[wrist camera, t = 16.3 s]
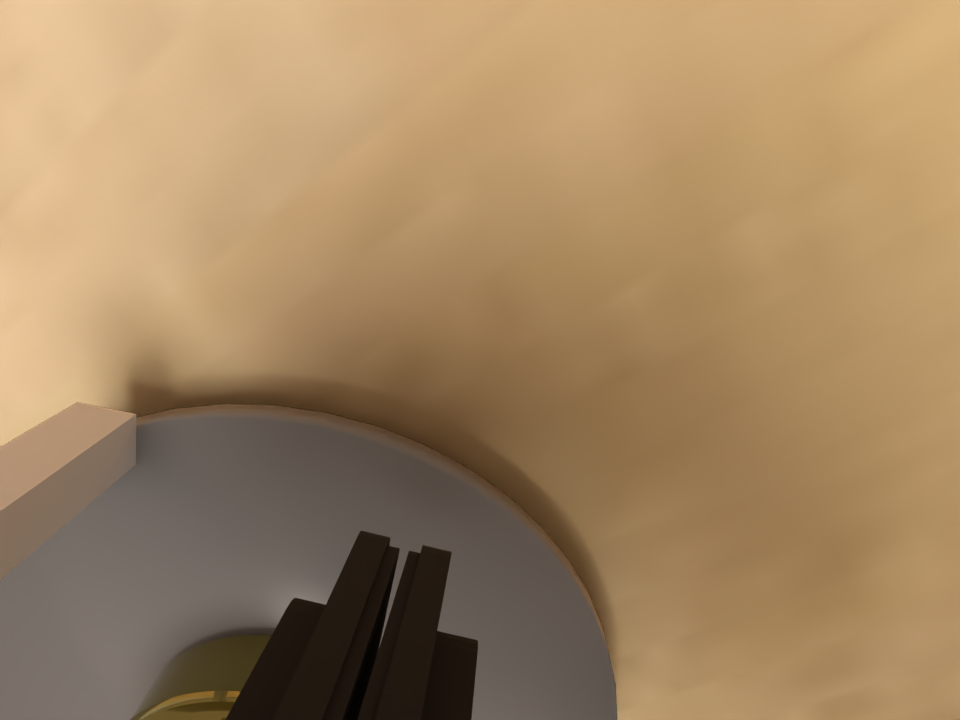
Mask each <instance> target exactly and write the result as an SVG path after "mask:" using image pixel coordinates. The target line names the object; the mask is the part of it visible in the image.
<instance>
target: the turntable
mask: <svg viewBox="0 0 960 720" xmlns="http://www.w3.org/2000/svg"><path fill="white" fill-rule="evenodd" d="M360 531H365V532H370V533H374V534H378V535H382V536H387V537H390V545H389V546H392V547H396V548H400V551H399V556H398V561H397V566H396V570H395V575H394V580H393V585H392V589H391V594H390V599H389V604H388V608H387V613H386V618H385V623H384V627H383V632H382V637H383V634H384V631H385V627H386V624H387V621H388V618H389V614H390V611H391V608H392V605H393V601H394V598H395V595H396V591H397V588H398V585H399V582H400V578H401V575H402V572H403V568H404V565H405V562H406V559H407V555H408V552H409V551H413V552H418V553H421V549H422V546H423V545H425V546H429V547H434V548H438V549H442V550H446V551H451V552H452V554H451V560H450V565H449V571H448V576H447V581H446V587H445V592H444V597H443V603H442V608H441V613H440V619H439V624H438V629H437V631H440V632H444V633H449V634H453V635H457V636H462V637H466V638H470V639H474V640H478V654H477V665H476V675H475V686H474V697H473V708H472V719H471V720H617V703H616V684H615V680H614V675H613V671H612V666H611V662H610V658H609V653H608V649H607V644H606V640H605V636H604V631H603V627H602V625H601V622H600V620H599V617H598V615H597V613H596V610H595V608H594V605H593V603H592V600H591V598H590V595H589V593H588V591H587V590H586V588H585V587H584V585H583V583H582V582H581V580H580V578H579V577H578V575H577V573H576V572H575V570H574V568H573V567H572V565H571V563H570V562H569V560H568V559H567V558H566V556H565V555H564V554H563V553H562V551H561V550H560V549H559V548H558V547H557V545H556V544H555V543H554V542H553V541H552V539H551V538H550V537H549V536H548V534H547V533H546V532H545V531H544V530H543V528H542V527H541V526H540V525H539V524H538V523H536V522H535V521H534V520H533V519H532V518H531V517H530V516H529V515H528V514H527V513H526V512H525V511H523V510H522V509H521V508H520V507H519V506H518V505H517V504H516V503H515V502H514V501H513V500H511V499H510V498H509V497H508V496H507V495H505V494H504V493H503V492H501V491H500V490H498V489H497V488H496V487H494V486H493V485H491V484H490V483H488V482H487V481H486V480H484V479H483V478H481V477H480V476H479V475H477V474H476V473H474V472H473V471H472V470H470V469H469V468H467V467H465V466H463V465H461V464H459V463H457V462H456V461H454V460H452V459H450V458H448V457H446V456H444V455H443V454H441V453H439V452H437V451H435V450H433V449H431V448H430V447H428V446H426V445H423V444H421V443H418V442H416V441H413V440H411V439H408V438H406V437H403V436H401V435H398V434H396V433H393V432H391V431H388V430H386V429H383V428H381V427H378V426H374V425H371V424H367V423H363V422H359V421H356V420H352V419H348V418H344V417H341V416H337V415H333V414H329V413H324V412H318V411H311V410H304V409H297V408H290V407H283V406H277V405H245V404H218V405H208V406H197V407H187V408H176V409H171V410H166V411H162V412H158V413H153V414H149V415H145V416H140V417H136V414H133V413H129V412H124V411H119V410H114V409H109V408H104V407H99V406H94V405H89V404H84V403H79V402H77V403H75V404H73V405H71V406H70V407H68V408H66V409H65V410H63V411H61V412H59V413H58V414H56V415H54V416H53V417H51V418H49V419H47V420H46V421H44V422H42V423H41V424H39V425H37V426H35V427H34V428H32V429H30V430H29V431H27V432H25V433H23V434H22V435H20V436H18V437H17V438H15V439H13V440H11V441H10V442H8V443H6V444H5V445H3V446H1V447H0V720H130V719H131V717H132V716H133V714H134V713H135V711H136V710H137V708H138V706H139V705H140V703H141V702H142V700H143V699H144V697H145V695H146V694H147V692H148V691H149V689H150V688H151V686H152V685H153V683H154V681H155V680H156V678H157V677H158V676H159V674H160V673H161V672H162V670H163V669H164V668H165V667H166V666H167V665H168V664H169V663H170V662H172V661H173V660H174V659H175V658H177V657H178V656H180V655H181V654H183V653H185V652H186V651H188V650H190V649H192V648H194V647H196V646H198V645H201V644H204V643H206V642H209V641H213V640H217V639H221V638H226V637H231V636H240V635H269V636H272V634H273V632H274V630H275V628H276V627H277V625H278V623H279V621H280V619H281V617H282V616H283V614H284V612H285V610H286V608H287V607H288V605H289V604H290V602H291V601H292V600H293V599H294V598H299V599H303V600H308V601H312V602H316V603H321V604H325V605H326V603H327V601H328V599H329V597H330V595H331V593H332V590H333V588H334V586H335V584H336V582H337V580H338V577H339V575H340V573H341V571H342V569H343V567H344V564H345V562H346V560H347V558H348V556H349V554H350V551H351V549H352V547H353V545H354V543H355V541H356V538H357V536H358V534H359V532H360ZM382 637H381V641H382ZM381 641H380V644H381ZM379 647H380V646H379Z"/></svg>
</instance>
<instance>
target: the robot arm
mask: <svg viewBox="0 0 960 720" xmlns="http://www.w3.org/2000/svg"><path fill="white" fill-rule="evenodd" d="M389 545H390V537H387V536H382V535H378V534H374V533H370V532H365V531H360V532H359V534H358V536H357V538H356V541H355V543H354V545H353V547H352V549H351V551H350V554H349V556H348V558H347V560H346V562H345V564H344V567H343V569H342V571H341V573H340V575H339V577H338V580H337V582H336V584H335V586H334V588H333V590H332V593H331V595H330V597H329V599H328V601H327V603H326V605H325V604H321V603H316V602H312V601H308V600H303V599H299V598H294V599H293V600H292V601H291V602H290V604H289V605H288V607H287V608H286V610H285V612H284V614H283V616H282V617H281V619H280V621H279V623H278V625H277V627H276V628H275V630H274V632H273V634H272V636H271V637H270V639H269V641H268V643H267V645H266V647H265V648H264V650H263V652H262V654H261V656H260V657H259V659H258V661H257V663H256V665H255V667H254V668H253V670H252V672H251V674H250V676H249V677H248V679H247V681H246V683H245V685H244V687H243V688H242V690H241V692H240V694H239V696H238V697H237V699H236V701H235V703H234V705H233V706H232V708H231V710H230V712H229V714H228V716H227V717H226V719H225V720H471V719H472V708H473V697H474V686H475V675H476V665H477V654H478V640H474V639H470V638H466V637H462V636H457V635H453V634H449V633H444V632H440V631H437V629H438V624H439V619H440V613H441V608H442V603H443V597H444V592H445V587H446V581H447V576H448V571H449V565H450V560H451V554H452V552H451V551H446V550H442V549H438V548H434V547H429V546H425V545H423V546H422V549H421V553H418V552H413V551H409V552H408V555H407V559H406V562H405V565H404V568H403V572H402V575H401V578H400V582H399V585H398V588H397V591H396V595H395V598H394V601H393V605H392V608H391V611H390V614H389V618H388V621H387V624H386V627H385V631H384V634H383V637H382V632H383V627H384V623H385V618H386V613H387V608H388V604H389V599H390V594H391V589H392V585H393V580H394V575H395V570H396V566H397V561H398V556H399V551H400V548H396V547H392V546H389ZM381 637H382V641H381ZM380 641H381V644H380ZM379 646H380V647H379Z"/></svg>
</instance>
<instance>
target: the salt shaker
mask: <svg viewBox="0 0 960 720" xmlns="http://www.w3.org/2000/svg"><path fill="white" fill-rule="evenodd" d="M270 637H271V636H269V635H240V636H231V637H226V638H221V639H217V640H213V641H209V642H206V643H204V644H201V645H198V646H196V647H194V648H192V649H190V650H188V651H186V652H185V653H183V654H181V655H180V656H178V657H177V658H175V659H174V660H173V661H172V662H170V663H169V664H168V665H167V666H166V667H165V668H164V669H163V670H162V672H161V673H160V674H159V676H158V677H157V678H156V680H155V681H154V683H153V685H152V686H151V688H150V689H149V691H148V692H147V694H146V695H145V697H144V699H143V700H142V702H141V703H140V705H139V706H138V708H137V710H136V711H135V713H134V714H133V716H132V717H131V719H130V720H225V719H226V717H227V716H228V714H229V712H230V710H231V708H232V706H233V705H234V703H235V701H236V699H237V697H238V696H239V694H240V692H241V690H242V688H243V687H244V685H245V683H246V681H247V679H248V677H249V676H250V674H251V672H252V670H253V668H254V667H255V665H256V663H257V661H258V659H259V657H260V656H261V654H262V652H263V650H264V648H265V647H266V645H267V643H268V641H269V639H270Z"/></svg>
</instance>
